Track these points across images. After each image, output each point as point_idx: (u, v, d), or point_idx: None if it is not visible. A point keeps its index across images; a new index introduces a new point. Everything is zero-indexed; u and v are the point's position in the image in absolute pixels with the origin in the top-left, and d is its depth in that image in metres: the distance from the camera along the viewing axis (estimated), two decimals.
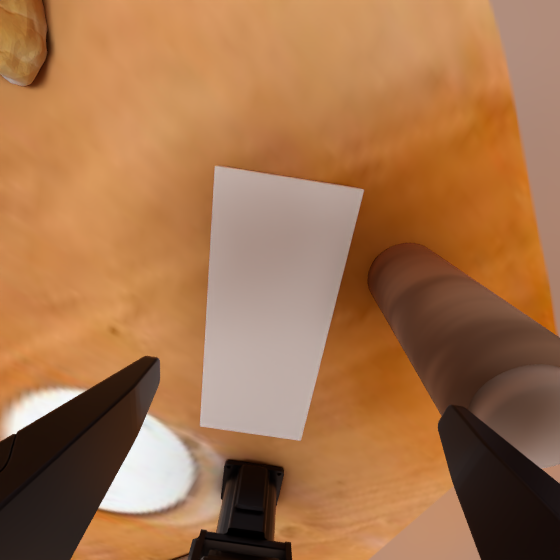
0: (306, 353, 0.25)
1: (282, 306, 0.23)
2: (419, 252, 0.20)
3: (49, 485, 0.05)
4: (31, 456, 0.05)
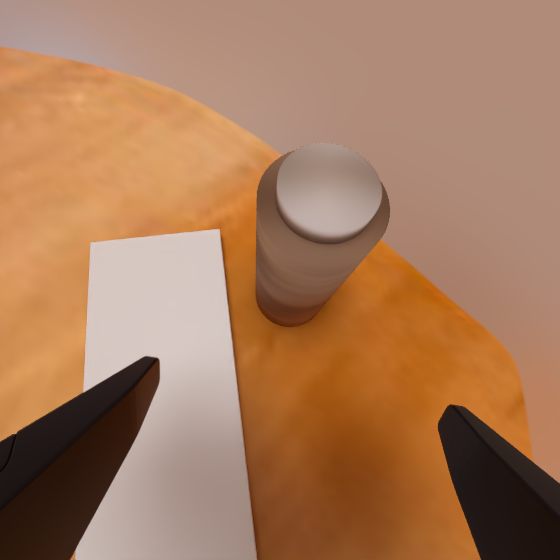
0: (218, 408, 0.20)
1: (174, 353, 0.21)
2: None
3: (49, 485, 0.05)
4: (31, 456, 0.05)
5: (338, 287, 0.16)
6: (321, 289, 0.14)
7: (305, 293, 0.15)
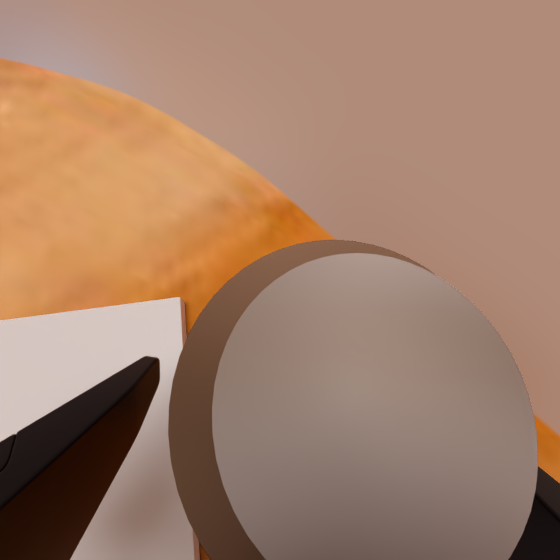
0: None
1: (98, 511, 0.13)
2: None
3: (49, 485, 0.05)
4: (31, 456, 0.05)
5: None
6: None
7: None
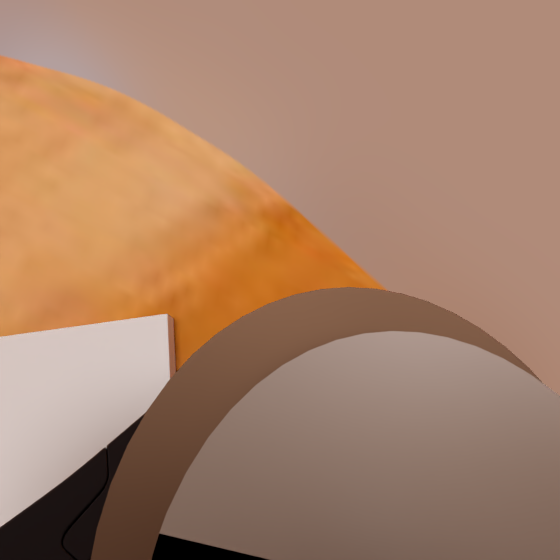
0: None
1: None
2: None
3: None
4: None
5: None
6: None
7: None
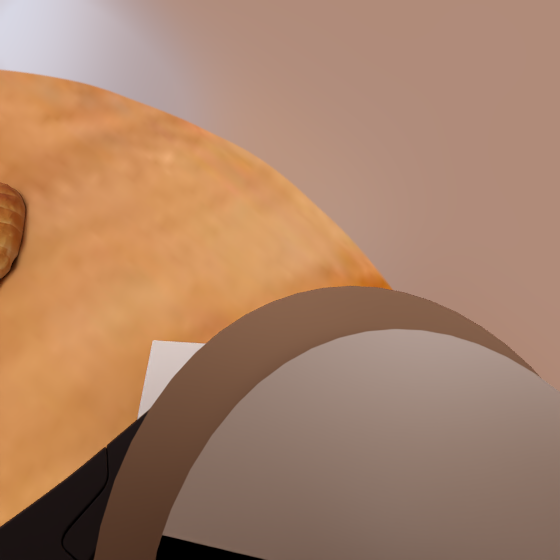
0: None
1: None
2: None
3: None
4: None
5: None
6: None
7: None
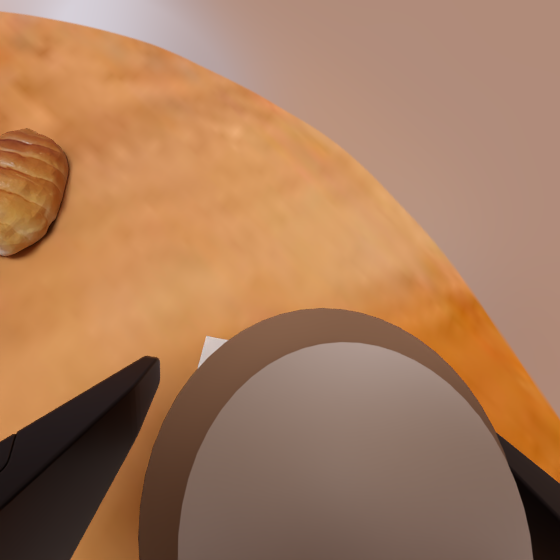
0: None
1: None
2: None
3: (49, 485, 0.05)
4: (31, 456, 0.05)
5: None
6: None
7: None
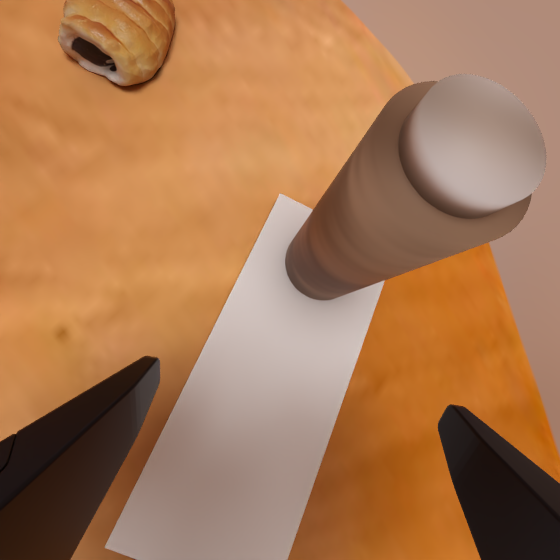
0: (315, 419, 0.19)
1: (302, 344, 0.20)
2: None
3: (49, 485, 0.05)
4: (31, 456, 0.05)
5: None
6: (396, 270, 0.12)
7: (374, 269, 0.12)
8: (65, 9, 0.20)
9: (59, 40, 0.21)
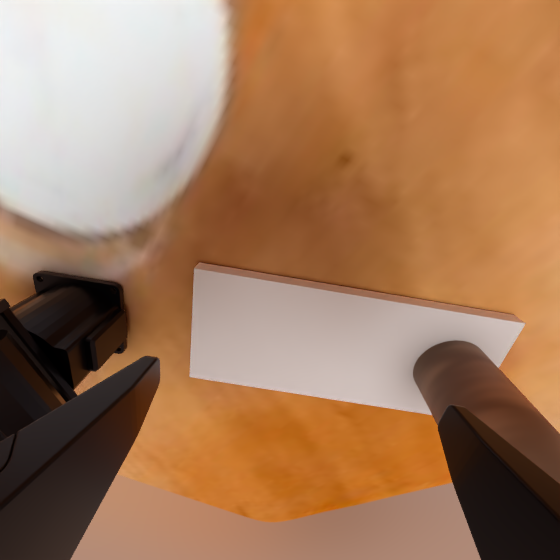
0: (313, 384, 0.24)
1: (371, 366, 0.23)
2: None
3: (49, 485, 0.05)
4: (31, 456, 0.05)
5: None
6: None
7: None
8: None
9: None
